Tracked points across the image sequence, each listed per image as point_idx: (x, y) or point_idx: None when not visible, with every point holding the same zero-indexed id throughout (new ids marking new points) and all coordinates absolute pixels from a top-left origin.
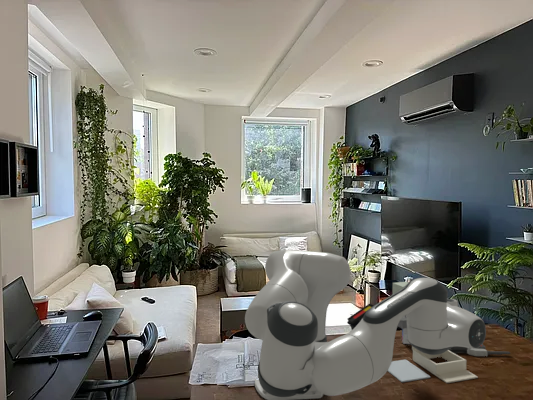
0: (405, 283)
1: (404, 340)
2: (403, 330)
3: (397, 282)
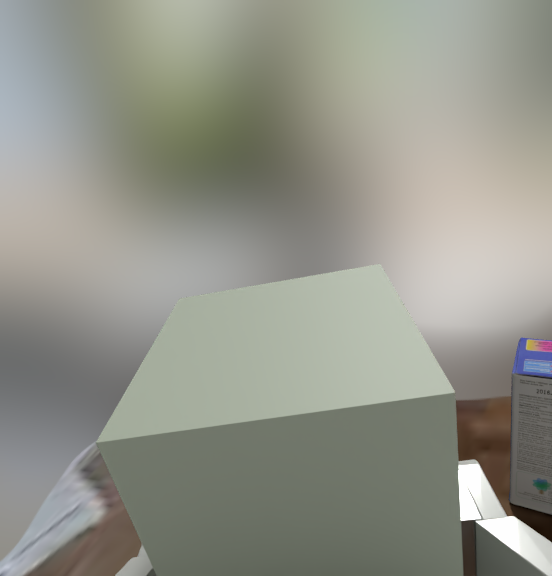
0: (317, 310)
1: (516, 493)
2: (512, 454)
3: (249, 287)
